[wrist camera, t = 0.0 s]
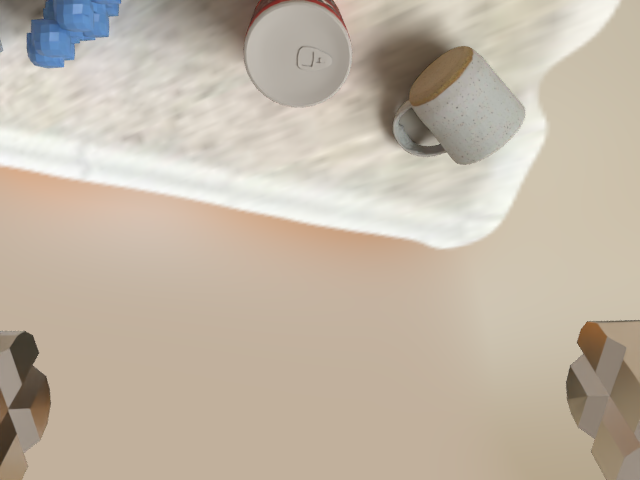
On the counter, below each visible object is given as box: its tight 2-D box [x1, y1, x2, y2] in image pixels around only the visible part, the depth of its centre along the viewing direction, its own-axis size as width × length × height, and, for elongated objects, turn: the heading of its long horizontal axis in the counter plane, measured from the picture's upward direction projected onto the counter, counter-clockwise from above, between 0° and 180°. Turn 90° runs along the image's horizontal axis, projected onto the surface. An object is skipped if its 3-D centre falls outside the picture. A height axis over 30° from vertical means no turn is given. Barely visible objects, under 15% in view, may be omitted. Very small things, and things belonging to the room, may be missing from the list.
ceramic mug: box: [393, 46, 525, 165], centre depth 53 cm, size 11×8×8 cm
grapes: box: [27, 0, 121, 68], centre depth 45 cm, size 12×7×12 cm, turn 131°
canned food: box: [243, 0, 352, 107], centre depth 48 cm, size 8×8×11 cm
